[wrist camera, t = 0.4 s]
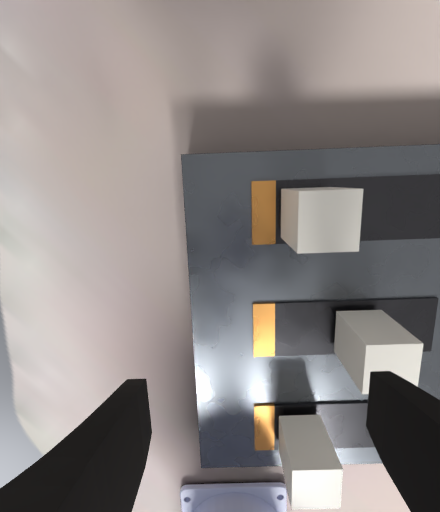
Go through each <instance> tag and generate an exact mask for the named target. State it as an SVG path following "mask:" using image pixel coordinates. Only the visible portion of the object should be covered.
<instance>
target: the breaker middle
mask: <svg viewBox="0 0 440 512" xmlns="http://www.w3.org/2000/svg"><path fill="white" fill-rule="evenodd" d="M422 351H423V343H422V342H421V341H420V340H418V339H417V338H416V337H415V336H413V335H412V334H411V333H410V332H409V331H407V330H406V329H405V328H404V327H402V326H401V325H400V324H399V323H397V322H396V321H395V320H394V319H392V318H391V317H390V316H389V315H387V314H386V313H385V312H384V311H383V310H357V311H336V325H335V342H334V352H335V354H336V355H337V357H338V358H339V360H340V361H341V363H342V364H343V366H344V367H345V369H346V371H347V372H348V374H349V375H350V377H351V378H352V380H353V381H354V383H355V384H356V386H357V387H358V389H359V390H360V392H361V393H362V394H369V382H370V372H372V371H391V372H393V373H395V374H397V375H398V376H400V377H402V378H404V379H405V380H407V381H409V382H411V383H412V384H414V385H416V386H417V387H418V381H419V374H420V366H421V359H422Z"/></svg>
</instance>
